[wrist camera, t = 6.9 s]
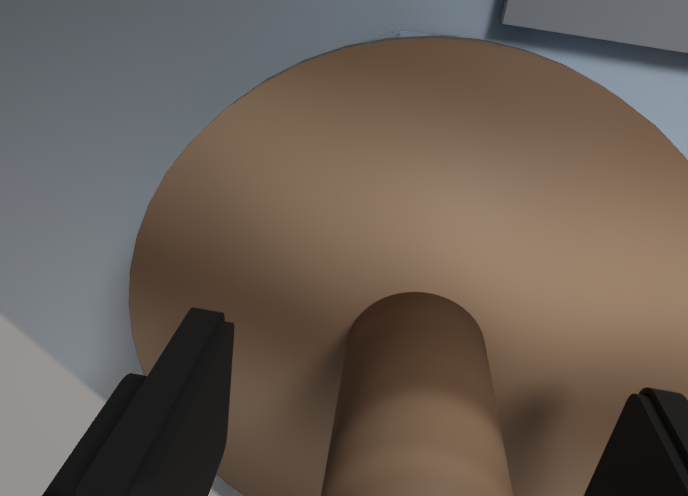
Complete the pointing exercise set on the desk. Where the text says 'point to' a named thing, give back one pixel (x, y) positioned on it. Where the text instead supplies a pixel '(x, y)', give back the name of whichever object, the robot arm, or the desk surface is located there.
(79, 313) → the desk surface
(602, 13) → the mat
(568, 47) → the desk surface
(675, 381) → the lid
